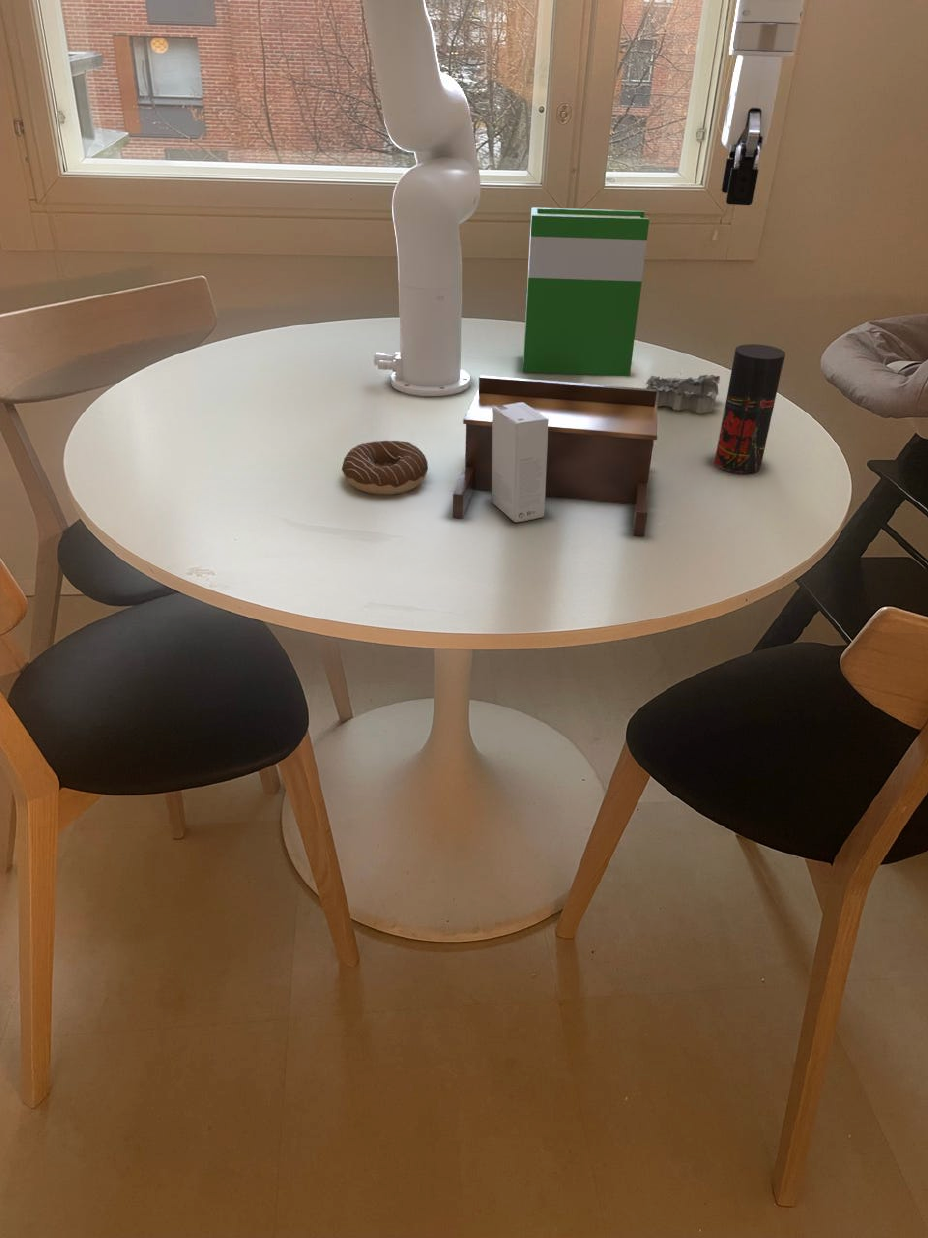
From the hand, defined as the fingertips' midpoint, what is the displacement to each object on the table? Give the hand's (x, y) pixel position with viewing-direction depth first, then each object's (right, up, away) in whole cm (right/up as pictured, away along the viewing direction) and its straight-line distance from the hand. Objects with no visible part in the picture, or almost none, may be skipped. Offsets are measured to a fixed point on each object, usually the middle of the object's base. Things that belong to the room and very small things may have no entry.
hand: (736, 198), depth 117 cm
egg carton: (-2, -22, +21) cm, 30 cm away
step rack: (-24, -39, -6) cm, 47 cm away
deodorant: (+1, -34, +2) cm, 34 cm away
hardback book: (-17, -12, +35) cm, 41 cm away
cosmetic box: (-29, -42, -10) cm, 52 cm away
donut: (-45, -38, -4) cm, 59 cm away
